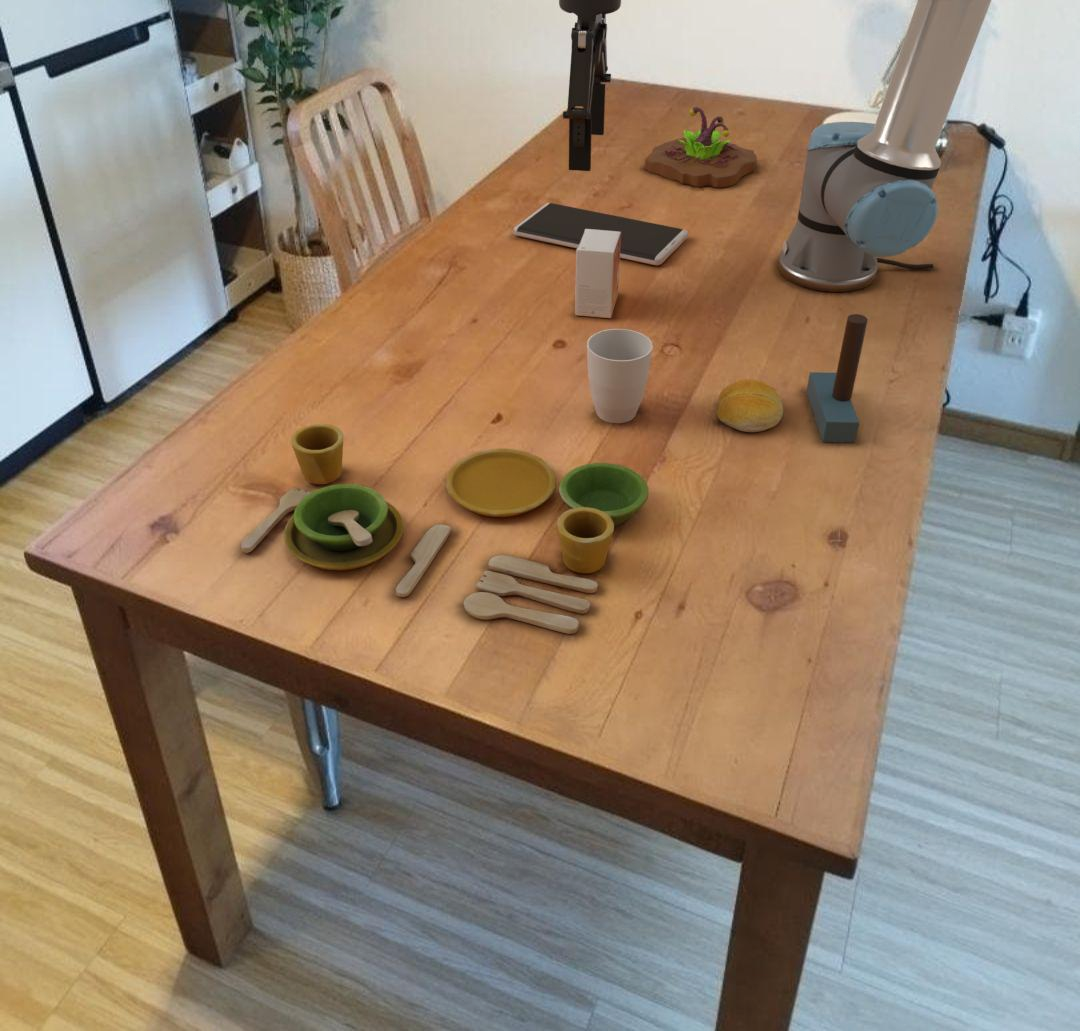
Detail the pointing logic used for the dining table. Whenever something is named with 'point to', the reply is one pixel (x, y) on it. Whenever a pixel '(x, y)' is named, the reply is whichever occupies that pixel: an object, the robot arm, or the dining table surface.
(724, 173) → the plant
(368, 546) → the tableware set
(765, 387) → the bread roll
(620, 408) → the cup
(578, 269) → the small box
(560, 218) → the smartphone
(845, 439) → the hammer
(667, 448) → the dining table surface
